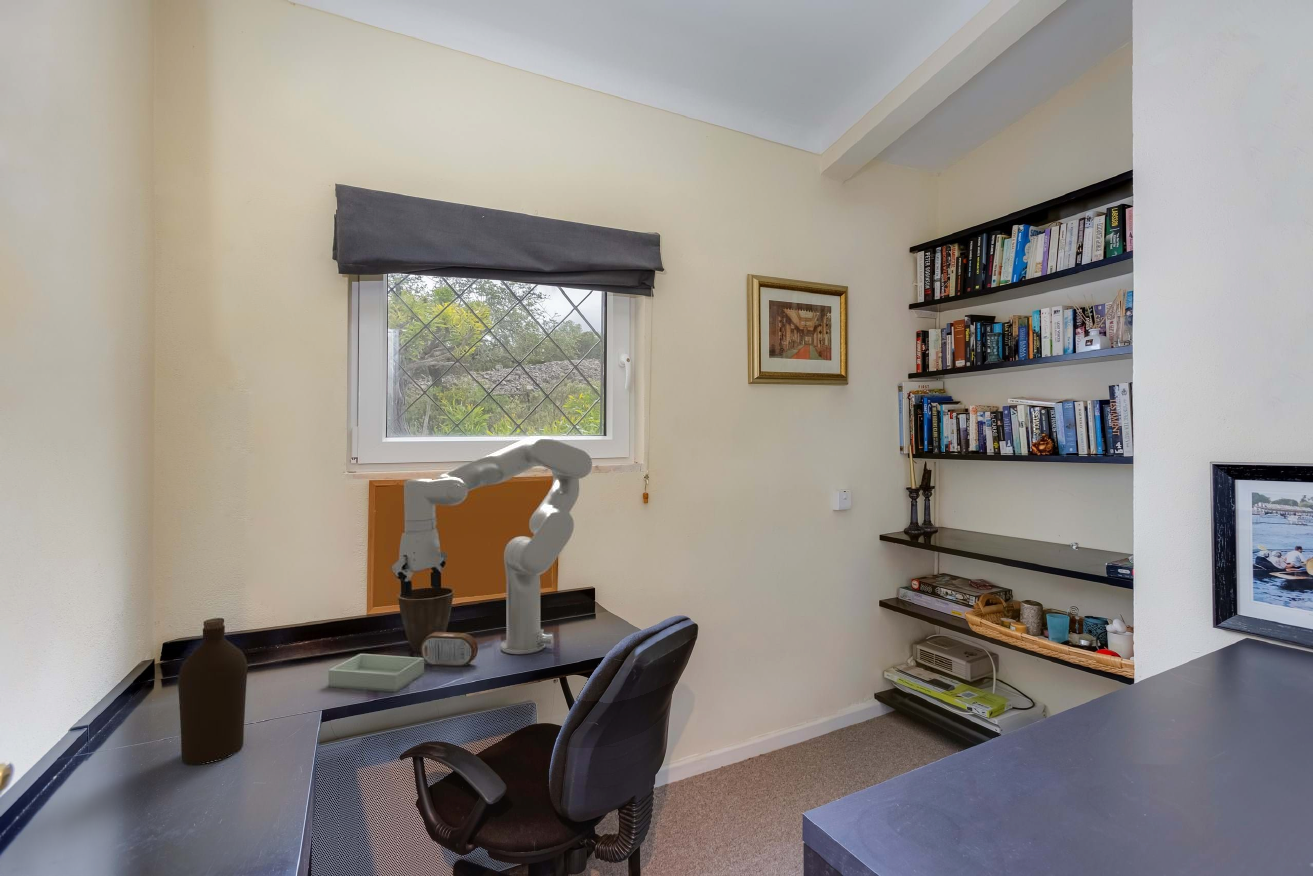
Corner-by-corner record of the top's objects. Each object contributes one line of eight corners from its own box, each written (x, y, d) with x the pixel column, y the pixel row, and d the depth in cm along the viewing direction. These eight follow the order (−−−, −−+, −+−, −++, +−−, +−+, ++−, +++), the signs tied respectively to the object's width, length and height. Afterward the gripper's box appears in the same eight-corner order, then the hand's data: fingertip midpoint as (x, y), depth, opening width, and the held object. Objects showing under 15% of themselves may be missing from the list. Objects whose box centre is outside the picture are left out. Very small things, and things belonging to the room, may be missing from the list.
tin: (478, 664, 159) (478, 632, 159) (473, 668, 156) (473, 636, 156) (424, 662, 161) (424, 630, 161) (418, 666, 158) (418, 634, 158)
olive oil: (204, 771, 107) (205, 631, 107) (163, 762, 110) (164, 625, 110) (260, 743, 117) (260, 614, 117) (220, 735, 120) (221, 610, 121)
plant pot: (385, 654, 167) (385, 596, 167) (425, 638, 181) (425, 584, 181) (427, 661, 161) (427, 601, 162) (464, 644, 175) (464, 589, 175)
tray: (423, 673, 152) (423, 658, 152) (395, 692, 141) (395, 675, 141) (360, 669, 156) (360, 653, 156) (328, 686, 144) (328, 670, 144)
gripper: (435, 521, 166) (436, 583, 166) (382, 530, 150) (383, 598, 150) (455, 522, 163) (456, 585, 162) (403, 531, 147) (404, 601, 147)
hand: (421, 591), depth 156 cm, fingers open, 9 cm apart
